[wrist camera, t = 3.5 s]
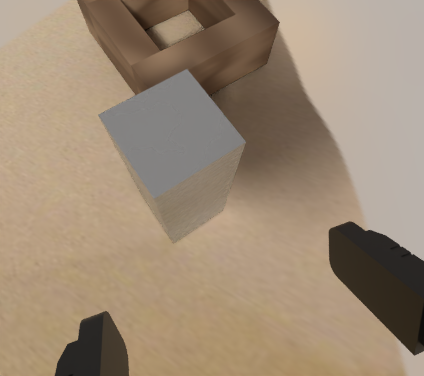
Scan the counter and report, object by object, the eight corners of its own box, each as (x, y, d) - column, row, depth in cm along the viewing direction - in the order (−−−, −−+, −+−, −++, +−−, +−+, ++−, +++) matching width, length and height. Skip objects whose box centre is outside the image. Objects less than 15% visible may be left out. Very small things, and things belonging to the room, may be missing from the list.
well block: (156, 124, 25) (148, 89, 21) (89, 31, 28) (70, -16, 24) (266, 63, 28) (279, 22, 24) (195, -16, 31) (195, -65, 26)
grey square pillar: (173, 243, 22) (153, 198, 11) (142, 195, 23) (98, 114, 13) (223, 210, 23) (246, 141, 12) (190, 165, 24) (186, 68, 14)
